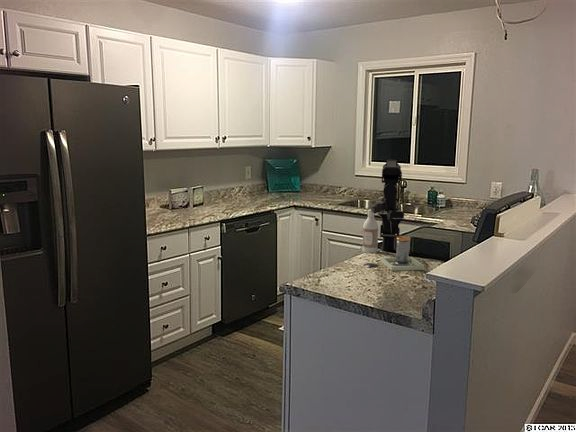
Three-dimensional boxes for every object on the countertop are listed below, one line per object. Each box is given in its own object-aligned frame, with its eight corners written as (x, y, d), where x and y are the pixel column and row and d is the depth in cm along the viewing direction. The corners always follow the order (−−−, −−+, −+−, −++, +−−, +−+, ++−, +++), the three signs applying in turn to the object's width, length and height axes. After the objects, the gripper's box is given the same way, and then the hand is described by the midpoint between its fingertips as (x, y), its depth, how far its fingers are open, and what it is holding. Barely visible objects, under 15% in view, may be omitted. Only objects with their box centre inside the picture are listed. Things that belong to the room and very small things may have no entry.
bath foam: (360, 252, 218) (361, 210, 214) (365, 249, 224) (366, 208, 220) (374, 254, 215) (375, 211, 211) (379, 250, 221) (380, 209, 217)
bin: (381, 263, 199) (381, 257, 199) (411, 262, 201) (411, 256, 200) (391, 272, 186) (391, 266, 186) (423, 271, 187) (424, 265, 187)
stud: (361, 265, 196) (361, 263, 196) (376, 265, 197) (376, 263, 196) (365, 270, 190) (365, 267, 189) (380, 269, 190) (380, 267, 190)
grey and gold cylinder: (391, 265, 195) (393, 236, 192) (402, 263, 197) (403, 235, 195) (401, 268, 190) (402, 239, 187) (412, 266, 192) (413, 238, 190)
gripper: (365, 193, 206) (364, 228, 209) (379, 198, 188) (377, 236, 190) (389, 193, 208) (388, 227, 210) (405, 198, 189) (403, 235, 192)
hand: (388, 231), depth 200 cm, fingers open, 9 cm apart
